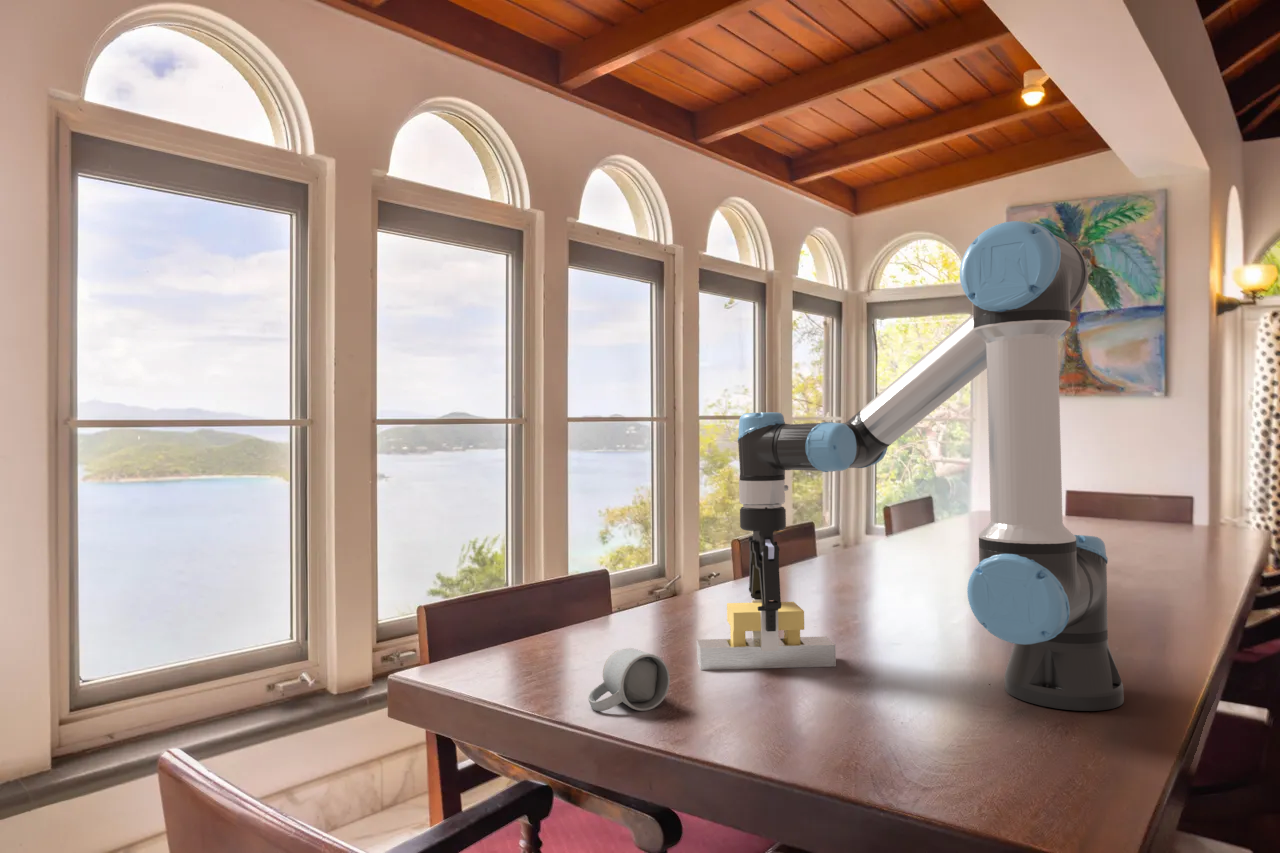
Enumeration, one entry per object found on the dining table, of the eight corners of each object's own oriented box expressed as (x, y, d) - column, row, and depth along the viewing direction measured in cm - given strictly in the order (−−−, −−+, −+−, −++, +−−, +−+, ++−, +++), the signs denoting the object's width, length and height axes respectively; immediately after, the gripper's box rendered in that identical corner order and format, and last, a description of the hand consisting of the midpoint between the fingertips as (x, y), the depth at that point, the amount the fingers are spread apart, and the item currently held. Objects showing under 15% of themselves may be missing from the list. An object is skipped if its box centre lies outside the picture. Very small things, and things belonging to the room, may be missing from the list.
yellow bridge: (804, 657, 134) (804, 611, 134) (734, 659, 133) (733, 612, 133) (794, 645, 141) (793, 601, 141) (727, 647, 141) (726, 603, 141)
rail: (835, 666, 135) (835, 644, 135) (700, 669, 134) (700, 648, 134) (826, 657, 140) (826, 636, 140) (697, 660, 140) (696, 639, 140)
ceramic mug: (644, 690, 124) (642, 639, 124) (671, 706, 116) (670, 651, 116) (578, 703, 119) (577, 650, 119) (603, 720, 111) (601, 663, 111)
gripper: (799, 510, 127) (801, 660, 127) (772, 500, 148) (775, 629, 148) (750, 511, 127) (753, 661, 127) (731, 501, 148) (733, 630, 147)
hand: (765, 643), depth 137 cm, fingers closed on yellow bridge, 8 cm apart
